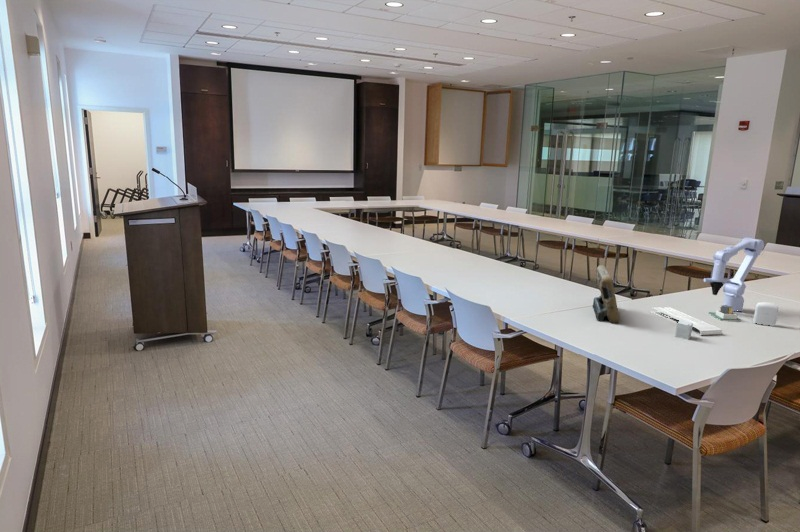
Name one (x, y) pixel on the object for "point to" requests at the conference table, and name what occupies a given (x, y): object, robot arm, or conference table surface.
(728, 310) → the plug
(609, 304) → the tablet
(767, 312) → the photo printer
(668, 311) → the white keyboard
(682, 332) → the skincare box
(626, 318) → the conference table surface
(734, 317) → the board
